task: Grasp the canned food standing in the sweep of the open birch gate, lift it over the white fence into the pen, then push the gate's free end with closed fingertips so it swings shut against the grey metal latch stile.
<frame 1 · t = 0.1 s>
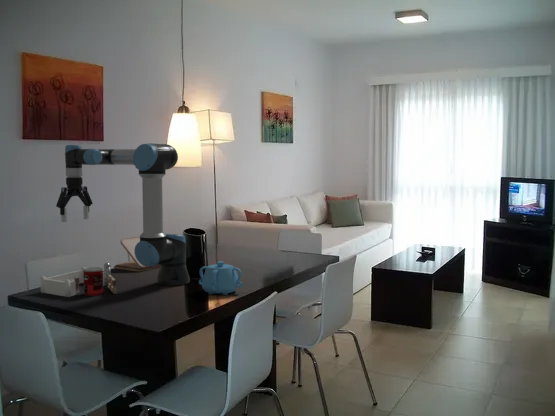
hand: (75, 220, 269), 28 cm above the table, fingers open, 13 cm apart
gate: (111, 283, 244), point 3 cm above the table, hinge at 55.0°
decorative pot: (220, 292, 242), on the table
pen fence: (76, 288, 247), on the table
canned food: (93, 294, 238), on the table
hinge post: (107, 285, 253), on the table
case: (139, 267, 298), on the table
latch stile: (75, 292, 240), on the table
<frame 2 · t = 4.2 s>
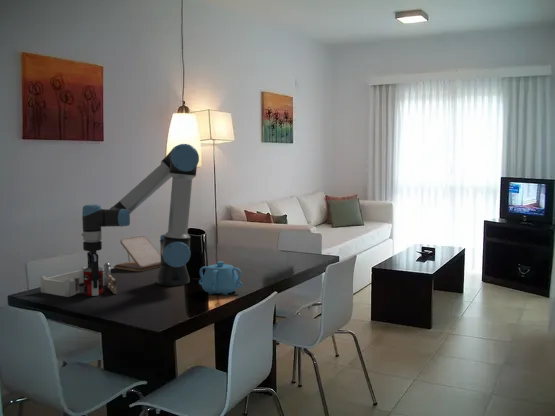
hand: (93, 293, 238), 0 cm above the table, fingers closed on canned food, 8 cm apart
canned food: (93, 294, 238), on the table, touching gripper
everything else where it was.
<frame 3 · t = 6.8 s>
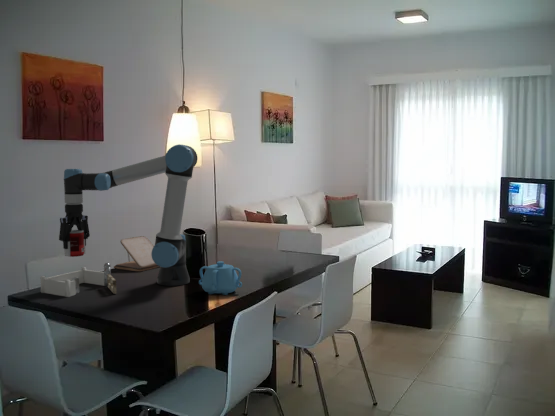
hand: (75, 254, 246), 15 cm above the table, fingers closed on canned food, 8 cm apart
canned food: (75, 255, 246), point 15 cm above the table, touching gripper
everything else where it was.
when the fingers open (2 cm above the table, at t = 9.2 s): canned food drops 1 cm, on the table.
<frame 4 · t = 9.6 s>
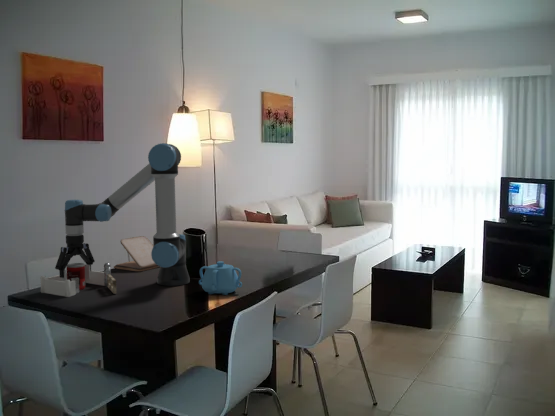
hand: (76, 281, 247), 3 cm above the table, fingers open, 13 cm apart
canned food: (76, 289, 247), on the table
everything else where it was.
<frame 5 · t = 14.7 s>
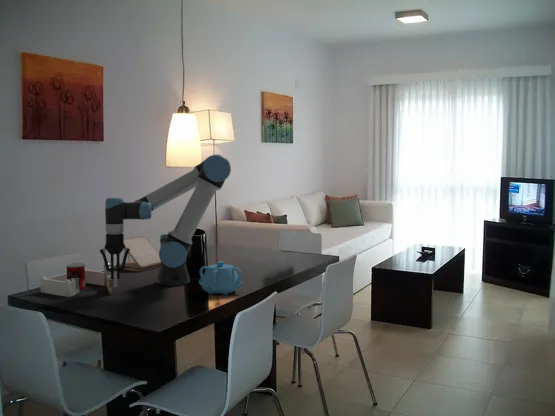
hand: (115, 286, 243), 2 cm above the table, fingers closed
gate: (109, 283, 243), point 3 cm above the table, hinge at 49.6°, touching gripper
everything else where it was.
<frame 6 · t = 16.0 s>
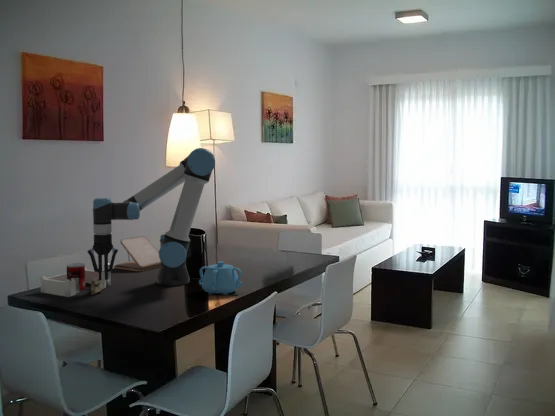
hand: (103, 287, 241), 2 cm above the table, fingers closed
gate: (98, 284, 243), point 3 cm above the table, hinge at 25.0°, touching gripper
everything else where it was.
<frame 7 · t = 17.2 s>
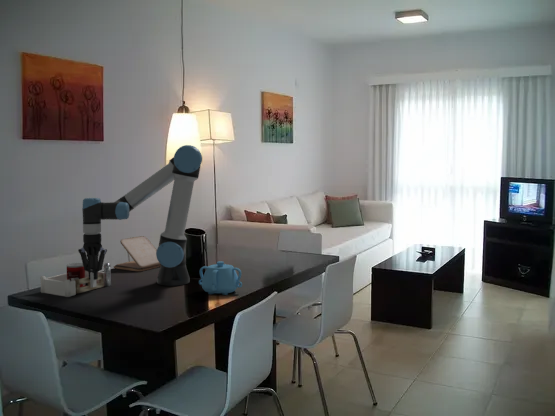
hand: (93, 286, 243), 2 cm above the table, fingers closed
gate: (89, 283, 244), point 3 cm above the table, hinge at -0.8°, touching gripper
everything else where it was.
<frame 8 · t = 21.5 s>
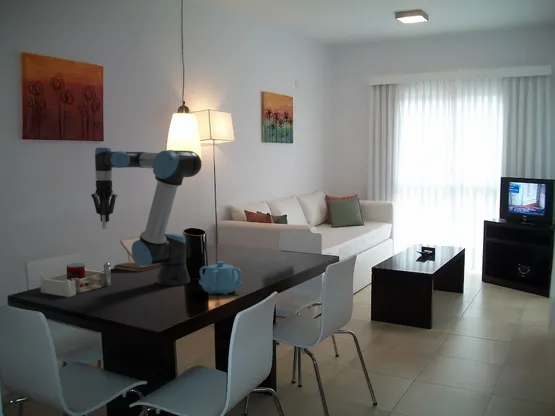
hand: (105, 228, 268), 24 cm above the table, fingers closed
gate: (89, 283, 244), point 3 cm above the table, hinge at -0.7°
everything else where it was.
at the end: gate at -1° (first picture: +55°); canned food inside the target area (0.5 cm from its centre), on the table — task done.
